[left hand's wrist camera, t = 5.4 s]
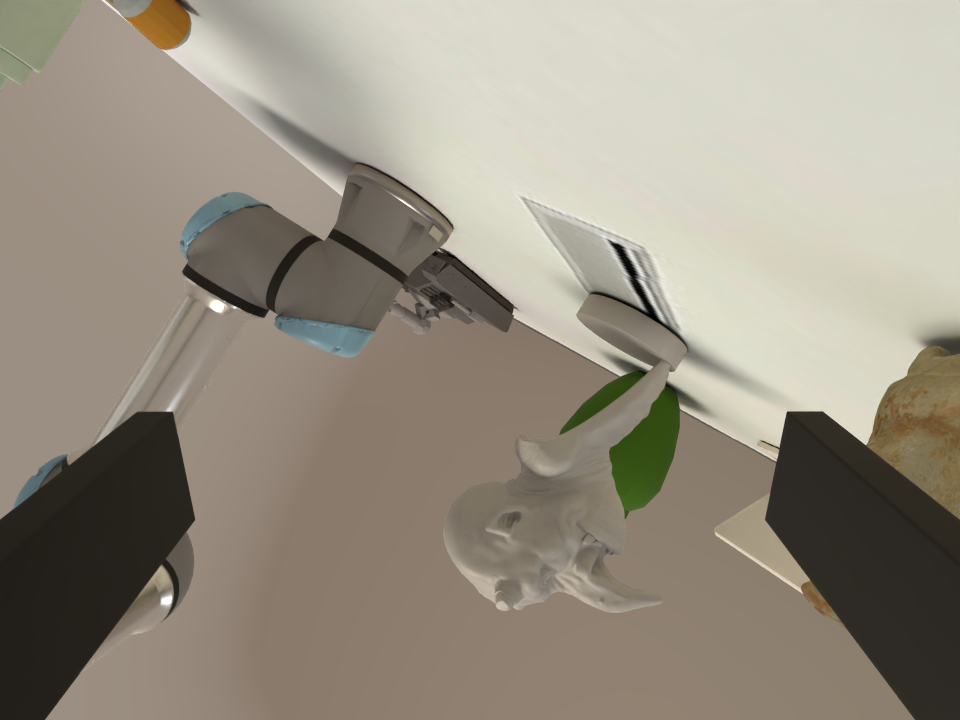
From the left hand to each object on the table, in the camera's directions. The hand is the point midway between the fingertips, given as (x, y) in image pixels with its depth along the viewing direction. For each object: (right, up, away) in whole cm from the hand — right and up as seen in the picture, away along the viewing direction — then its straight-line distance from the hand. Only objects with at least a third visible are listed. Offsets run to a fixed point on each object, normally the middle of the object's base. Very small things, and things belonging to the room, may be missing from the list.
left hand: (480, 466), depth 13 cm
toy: (-5, +21, +103) cm, 105 cm away
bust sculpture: (+21, +5, +52) cm, 56 cm away
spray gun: (-33, +38, +40) cm, 64 cm away
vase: (+31, -1, +89) cm, 94 cm away
